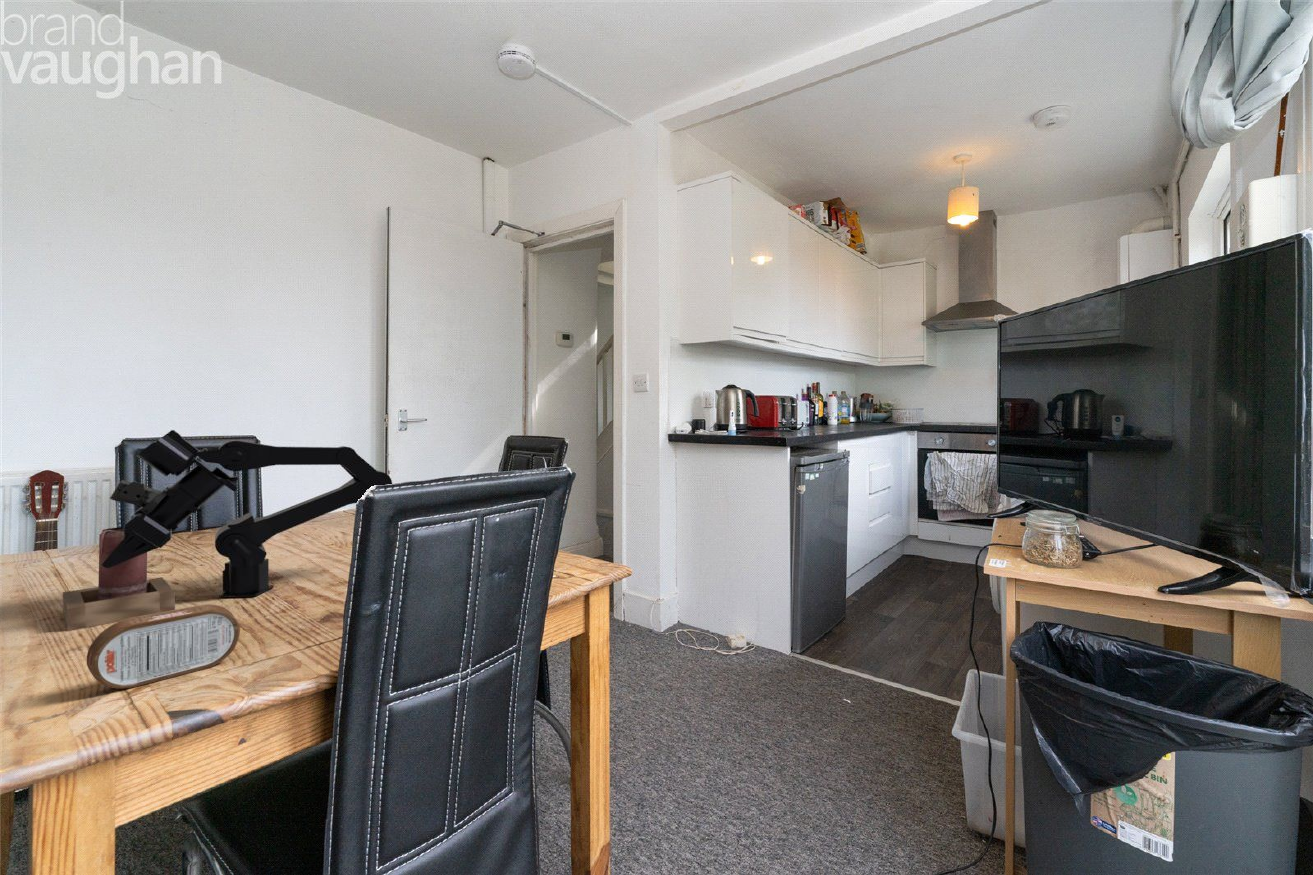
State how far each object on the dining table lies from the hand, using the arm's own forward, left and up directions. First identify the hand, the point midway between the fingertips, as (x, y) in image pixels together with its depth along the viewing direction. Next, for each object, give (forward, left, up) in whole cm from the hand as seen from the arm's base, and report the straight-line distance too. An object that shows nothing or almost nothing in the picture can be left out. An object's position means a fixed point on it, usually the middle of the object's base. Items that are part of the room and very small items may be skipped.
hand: (107, 562), depth 97 cm
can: (-1, -1, -9) cm, 9 cm away
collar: (-1, -1, -9) cm, 9 cm away
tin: (-29, +26, -9) cm, 40 cm away
